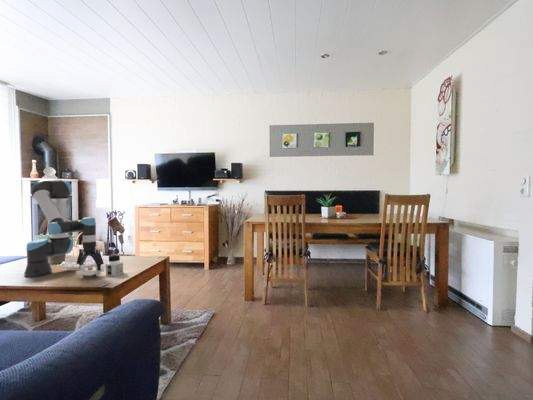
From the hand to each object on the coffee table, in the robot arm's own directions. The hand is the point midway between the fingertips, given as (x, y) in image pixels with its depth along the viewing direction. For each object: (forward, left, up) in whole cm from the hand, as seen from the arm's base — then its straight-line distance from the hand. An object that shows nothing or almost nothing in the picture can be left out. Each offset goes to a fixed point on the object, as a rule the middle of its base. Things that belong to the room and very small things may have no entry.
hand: (90, 275), depth 197 cm
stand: (0, 0, -2) cm, 2 cm away
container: (+10, +10, -2) cm, 14 cm away
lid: (0, 0, +1) cm, 1 cm away
